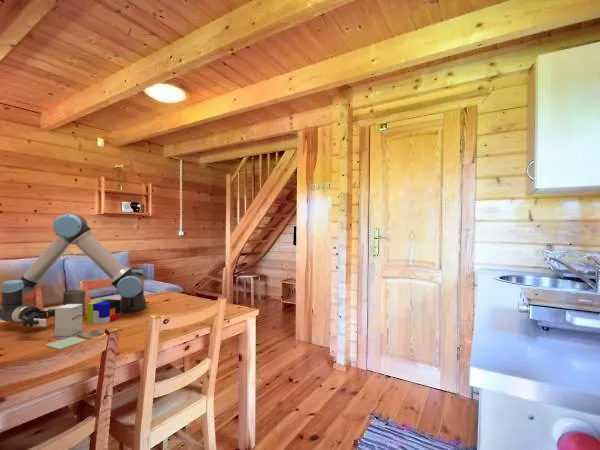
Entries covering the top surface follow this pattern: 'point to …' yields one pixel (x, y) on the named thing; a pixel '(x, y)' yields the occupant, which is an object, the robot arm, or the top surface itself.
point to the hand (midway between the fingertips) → (61, 318)
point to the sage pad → (65, 343)
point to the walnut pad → (92, 333)
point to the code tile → (68, 336)
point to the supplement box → (68, 319)
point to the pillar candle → (75, 298)
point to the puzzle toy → (103, 311)
